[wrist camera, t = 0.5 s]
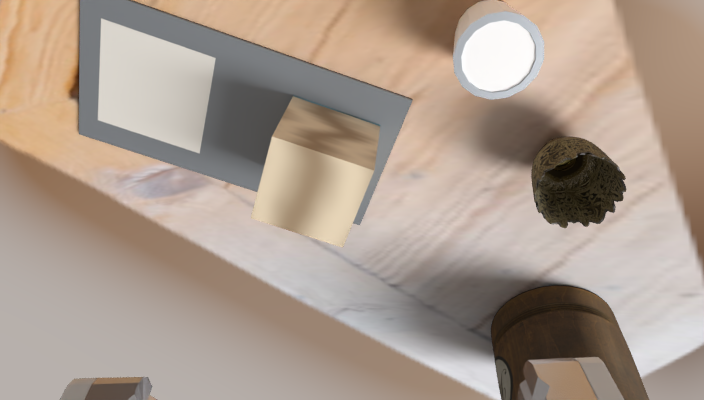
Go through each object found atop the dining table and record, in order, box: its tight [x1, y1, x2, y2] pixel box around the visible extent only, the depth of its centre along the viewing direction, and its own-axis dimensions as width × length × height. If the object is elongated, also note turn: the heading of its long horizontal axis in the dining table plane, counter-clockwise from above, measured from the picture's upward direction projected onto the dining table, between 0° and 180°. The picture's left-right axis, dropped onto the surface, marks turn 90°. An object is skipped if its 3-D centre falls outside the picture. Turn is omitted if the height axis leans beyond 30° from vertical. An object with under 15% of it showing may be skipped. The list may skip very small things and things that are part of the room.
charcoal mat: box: [79, 0, 412, 225], centre depth 51 cm, size 32×16×1 cm, turn 72°
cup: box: [532, 137, 626, 228], centre depth 47 cm, size 8×7×8 cm
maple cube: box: [251, 95, 380, 248], centre depth 48 cm, size 9×9×9 cm
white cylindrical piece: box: [453, 0, 544, 100], centre depth 42 cm, size 7×7×7 cm
